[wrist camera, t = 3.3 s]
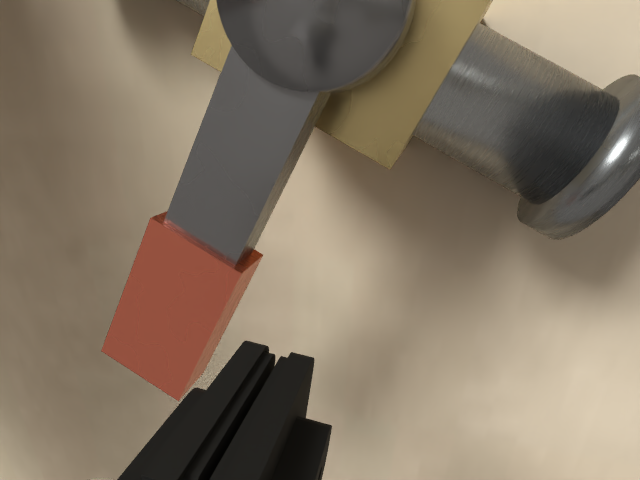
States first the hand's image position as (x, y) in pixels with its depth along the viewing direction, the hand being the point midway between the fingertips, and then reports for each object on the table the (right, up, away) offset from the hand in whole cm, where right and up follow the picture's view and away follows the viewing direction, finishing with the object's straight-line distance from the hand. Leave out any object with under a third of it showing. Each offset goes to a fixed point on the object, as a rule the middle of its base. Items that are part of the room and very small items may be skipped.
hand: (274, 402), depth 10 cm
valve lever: (-1, +6, +2) cm, 6 cm away
